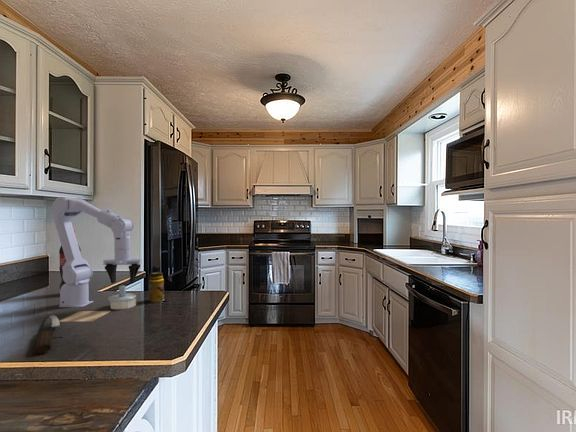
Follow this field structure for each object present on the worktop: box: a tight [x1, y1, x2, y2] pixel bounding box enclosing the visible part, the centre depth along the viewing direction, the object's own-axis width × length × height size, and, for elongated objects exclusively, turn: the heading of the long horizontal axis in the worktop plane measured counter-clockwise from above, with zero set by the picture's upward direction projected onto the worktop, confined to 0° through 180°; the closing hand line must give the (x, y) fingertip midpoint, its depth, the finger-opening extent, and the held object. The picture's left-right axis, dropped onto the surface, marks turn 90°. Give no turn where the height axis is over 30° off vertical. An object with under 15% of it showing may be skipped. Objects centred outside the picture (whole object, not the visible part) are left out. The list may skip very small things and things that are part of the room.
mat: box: [59, 310, 112, 323], centre depth 119 cm, size 12×12×1 cm
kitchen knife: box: [34, 314, 61, 355], centre depth 103 cm, size 36×2×5 cm
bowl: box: [109, 297, 137, 310], centre depth 132 cm, size 9×9×4 cm
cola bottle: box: [58, 229, 82, 290], centre depth 155 cm, size 8×8×30 cm
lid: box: [107, 285, 137, 302], centre depth 132 cm, size 10×10×5 cm
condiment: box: [148, 271, 165, 303], centre depth 140 cm, size 7×8×12 cm
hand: (122, 282), depth 132 cm, fingers open, 7 cm apart
